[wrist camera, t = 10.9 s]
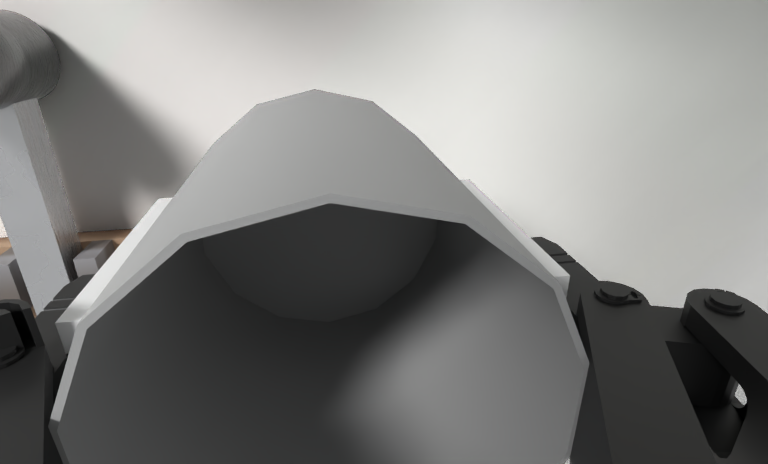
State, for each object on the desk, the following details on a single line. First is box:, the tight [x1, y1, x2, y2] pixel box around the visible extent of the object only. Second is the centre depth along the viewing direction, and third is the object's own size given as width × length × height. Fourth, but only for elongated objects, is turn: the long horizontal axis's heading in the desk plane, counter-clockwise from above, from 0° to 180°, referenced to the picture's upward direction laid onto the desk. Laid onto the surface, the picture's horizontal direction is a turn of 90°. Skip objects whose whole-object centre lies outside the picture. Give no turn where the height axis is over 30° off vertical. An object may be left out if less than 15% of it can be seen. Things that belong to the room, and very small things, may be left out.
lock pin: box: [0, 10, 82, 315], centre depth 23 cm, size 16×4×8 cm, turn 1°
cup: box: [48, 89, 589, 464], centre depth 12 cm, size 8×8×10 cm
